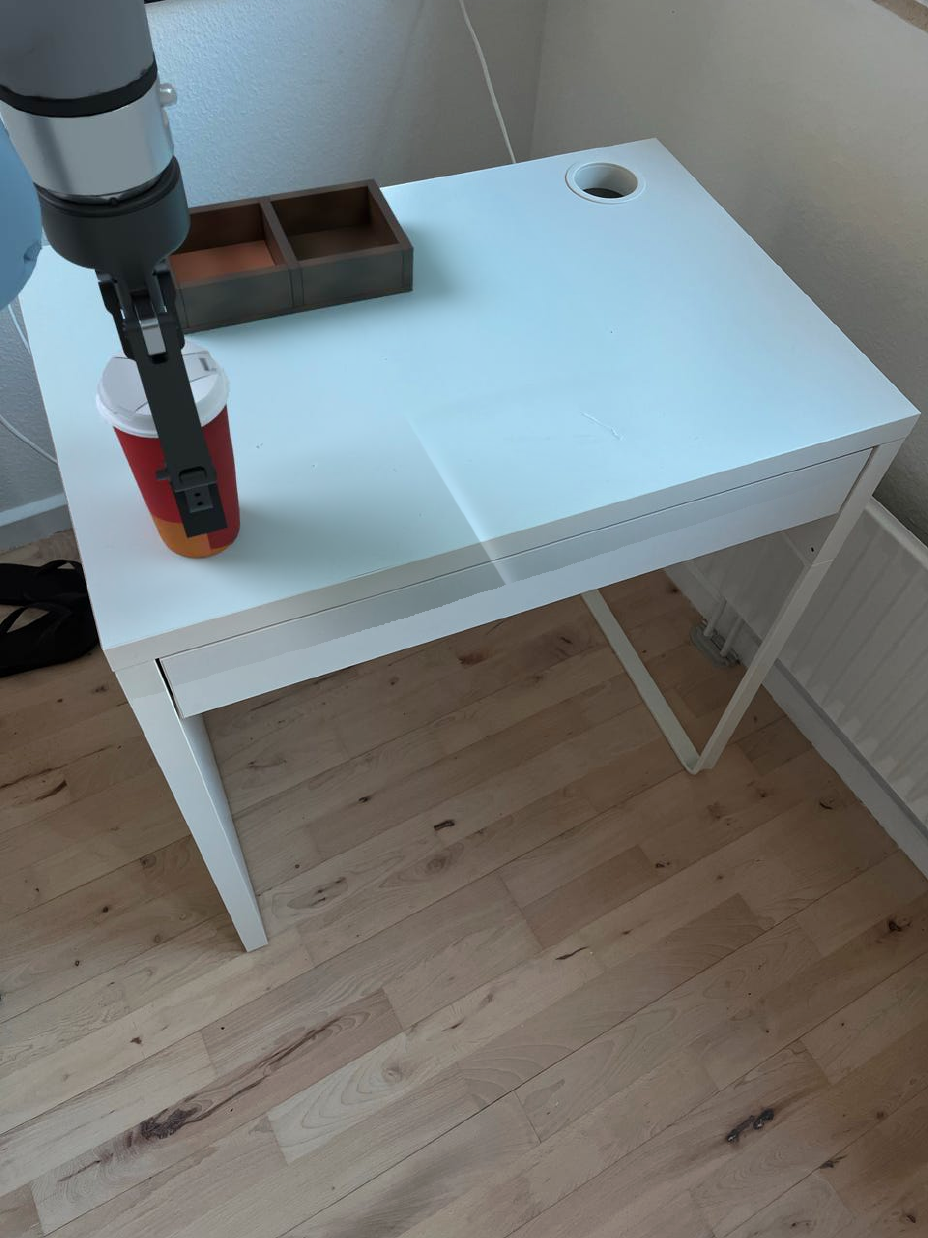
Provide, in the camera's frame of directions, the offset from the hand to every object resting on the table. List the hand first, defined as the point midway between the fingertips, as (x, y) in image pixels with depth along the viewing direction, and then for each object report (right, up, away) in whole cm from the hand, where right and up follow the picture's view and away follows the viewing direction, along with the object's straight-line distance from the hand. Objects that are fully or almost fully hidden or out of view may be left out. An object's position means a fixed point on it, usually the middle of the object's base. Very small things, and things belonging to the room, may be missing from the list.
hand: (184, 457), depth 65 cm
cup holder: (+2, +21, +24) cm, 32 cm away
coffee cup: (-1, -4, +6) cm, 8 cm away
